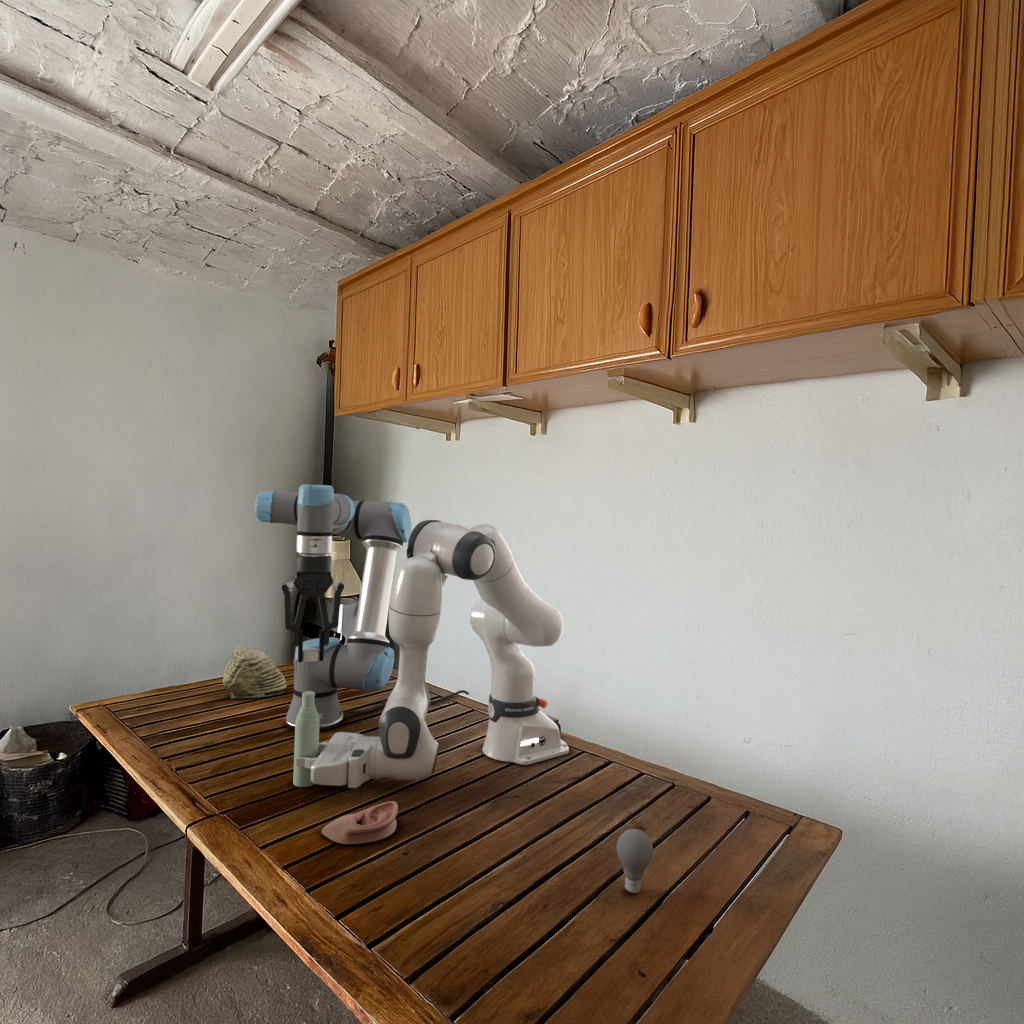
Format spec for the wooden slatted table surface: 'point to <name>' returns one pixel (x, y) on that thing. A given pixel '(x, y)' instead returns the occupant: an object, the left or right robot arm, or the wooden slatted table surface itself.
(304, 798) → the wooden slatted table surface
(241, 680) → the fossil
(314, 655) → the cap
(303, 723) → the bottle
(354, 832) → the anatomical model
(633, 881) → the light bulb
